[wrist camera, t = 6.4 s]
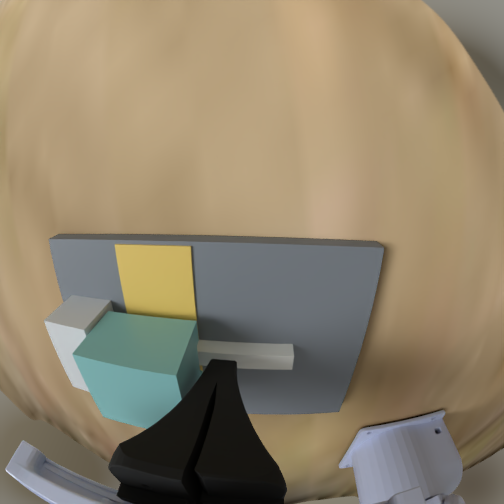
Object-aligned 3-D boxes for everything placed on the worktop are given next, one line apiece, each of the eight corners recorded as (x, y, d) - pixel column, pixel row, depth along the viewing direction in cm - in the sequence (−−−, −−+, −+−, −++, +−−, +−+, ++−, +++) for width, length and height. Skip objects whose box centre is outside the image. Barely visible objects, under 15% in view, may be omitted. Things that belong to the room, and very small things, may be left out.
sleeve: (196, 320, 13) (175, 375, 9) (204, 384, 14) (191, 437, 11) (108, 311, 13) (72, 353, 9) (127, 372, 15) (103, 416, 11)
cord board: (376, 241, 13) (413, 273, 9) (336, 401, 17) (346, 445, 13) (58, 234, 14) (15, 257, 10) (102, 380, 18) (81, 415, 14)
